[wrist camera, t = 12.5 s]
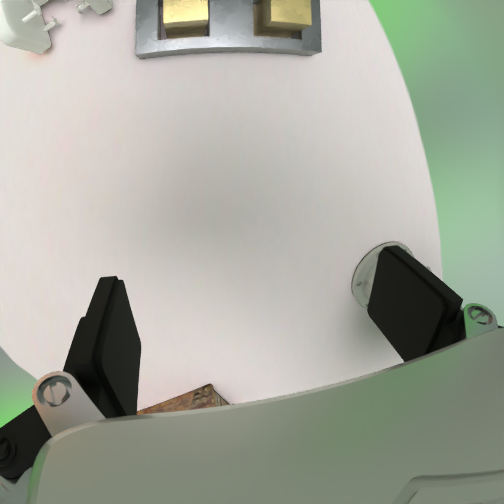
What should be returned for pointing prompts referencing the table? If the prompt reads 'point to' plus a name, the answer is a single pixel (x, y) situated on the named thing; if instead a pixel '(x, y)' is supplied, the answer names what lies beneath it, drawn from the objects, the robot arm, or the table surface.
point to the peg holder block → (236, 28)
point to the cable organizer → (33, 23)
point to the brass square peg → (185, 18)
